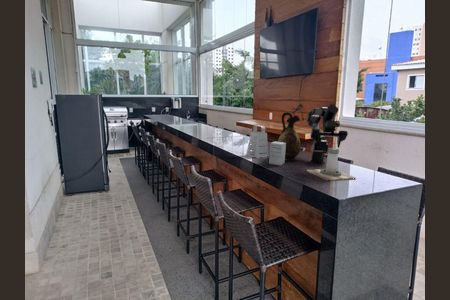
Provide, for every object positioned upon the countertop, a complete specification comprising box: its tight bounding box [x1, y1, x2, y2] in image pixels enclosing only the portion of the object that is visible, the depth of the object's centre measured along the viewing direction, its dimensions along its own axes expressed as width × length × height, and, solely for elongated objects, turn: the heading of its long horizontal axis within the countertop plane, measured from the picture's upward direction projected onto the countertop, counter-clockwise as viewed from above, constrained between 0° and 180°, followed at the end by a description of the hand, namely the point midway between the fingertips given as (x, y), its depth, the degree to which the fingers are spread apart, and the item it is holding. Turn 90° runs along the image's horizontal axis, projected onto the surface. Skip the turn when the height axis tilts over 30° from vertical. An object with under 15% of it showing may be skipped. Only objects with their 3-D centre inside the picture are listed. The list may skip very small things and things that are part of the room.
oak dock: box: [306, 168, 356, 182], centre depth 142 cm, size 17×17×2 cm
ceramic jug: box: [276, 111, 302, 161], centre depth 175 cm, size 17×15×30 cm
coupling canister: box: [325, 147, 340, 174], centre depth 141 cm, size 5×5×13 cm
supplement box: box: [268, 140, 286, 166], centre depth 161 cm, size 7×7×13 cm
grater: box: [245, 124, 269, 159], centre depth 180 cm, size 10×10×20 cm
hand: (329, 146), depth 147 cm, fingers open, 9 cm apart
